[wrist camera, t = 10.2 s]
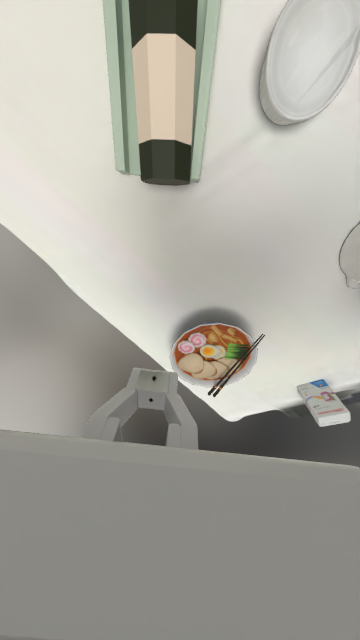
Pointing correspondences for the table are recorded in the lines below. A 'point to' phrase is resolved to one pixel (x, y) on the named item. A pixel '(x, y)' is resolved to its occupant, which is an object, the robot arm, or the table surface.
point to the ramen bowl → (213, 355)
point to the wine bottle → (164, 86)
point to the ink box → (323, 403)
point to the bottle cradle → (125, 89)
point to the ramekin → (309, 58)
